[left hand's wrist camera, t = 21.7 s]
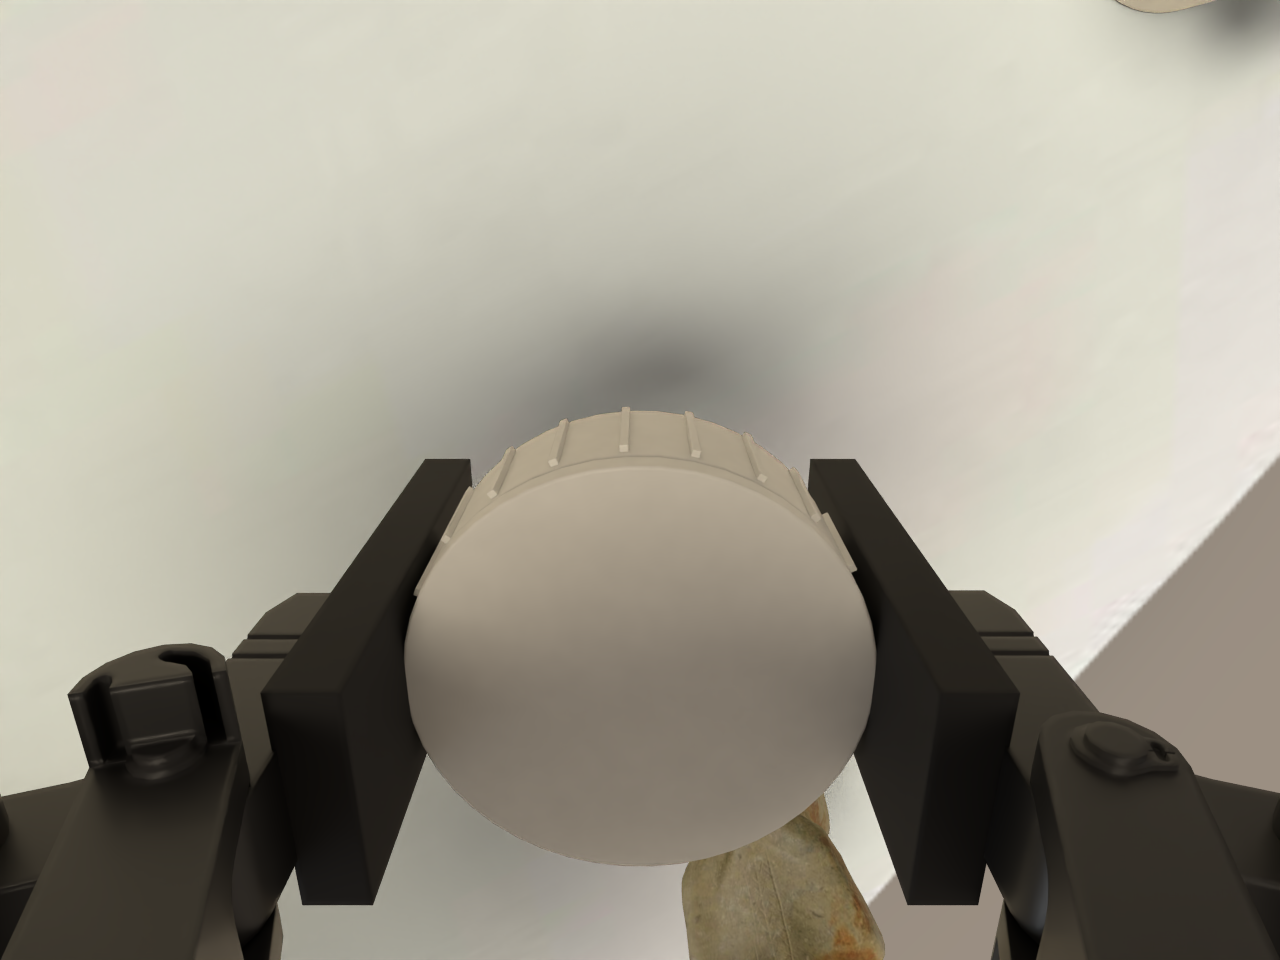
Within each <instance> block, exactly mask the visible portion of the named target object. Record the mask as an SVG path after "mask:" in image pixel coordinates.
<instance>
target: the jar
mask: <svg viewBox="0 0 1280 960" xmlns="http://www.w3.org/2000/svg"><path fill="white" fill-rule="evenodd" d="M1117 1H1118V2H1120V3H1121V4H1123V5H1126V6H1128V7H1130V8H1132V9H1136V10H1140V11H1143V12H1152V13H1165V12H1173V11H1178V10H1183V9H1186V8H1190V7H1194V6H1197V5H1201V4H1205V3H1208V2H1212V1H1216V0H1117Z"/></svg>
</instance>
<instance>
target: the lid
mask: <svg viewBox="0 0 1280 960" xmlns="http://www.w3.org/2000/svg"><path fill="white" fill-rule="evenodd" d="M856 570H857V568H856V566H855V564H854V562H853V560H852V558H851V556H850V554H849V552H848V551H847V549H846V547H845V545H844V543H843V541H842V539H841V537H840V535H839V533H838V531H837V529H836V528H835V526H834V524H833V522H832V520H831V518H830V516H829V514H828V513H825V514H821V513H820V511H819V509H818V507H817V505H816V503H815V501H814V500H813V499H812V497H811V496H810V494H809V492H808V490H807V488H806V486H805V484H804V482H803V480H802V478H801V476H800V474H799V472H798V471H797V470H796V469H795V468H794V467H793V468H792V469H790V470H789V469H788V468H787V467H786V466H785V465H784V464H783V463H782V462H780V461H779V460H778V459H776V458H775V457H774V456H773V455H771V454H770V453H769V452H767V451H766V450H765V449H764V448H762V447H761V446H759V445H758V444H756V443H754V441H753V438H752V436H751V435H750V434H748V433H746V432H744V434H743V435H740V434H739V433H737V432H734V431H732V430H729V429H727V428H725V427H722V426H720V425H717V424H715V423H713V422H709V421H705V420H702V419H698V418H694V414H693V412H688V411H686V412H685V415H682V414H674V413H667V412H660V411H630V407H622V411H621V412H613V413H604V414H598V415H594V416H590V417H586V418H582V419H578V420H574V421H571V422H568V419H564V420H561V421H560V422H559V426H558V427H556V428H553V429H550V430H548V431H546V432H544V433H542V434H540V435H539V436H537V437H535V438H533V439H531V440H529V441H528V442H526V443H524V444H522V445H521V446H520V447H518V448H517V449H516V450H515V449H514V448H513V446H511V447H510V448H508V449H507V450H506V452H505V454H504V456H503V458H502V460H501V461H500V462H499V463H498V464H497V465H496V466H495V467H494V468H493V469H492V470H491V471H490V472H489V473H488V474H487V475H486V476H485V477H484V478H483V479H482V480H481V482H480V483H479V484H478V485H477V487H476V488H475V489H473V488H472V487H470V486H469V487H468V489H467V490H466V492H465V494H464V496H463V497H462V499H461V501H460V503H459V505H458V507H457V509H456V511H455V513H454V515H453V517H452V519H451V521H450V522H449V524H448V526H447V528H446V530H445V532H444V534H443V536H442V538H441V540H440V542H439V544H438V546H437V548H436V550H435V552H434V554H433V555H432V557H431V559H430V561H429V563H428V565H427V567H426V569H425V571H424V573H423V575H422V577H421V579H420V580H419V582H418V584H417V586H416V588H415V591H414V596H417V599H416V602H415V605H414V607H413V610H412V613H411V615H410V619H409V623H408V628H407V633H406V638H405V643H404V663H405V673H406V681H407V690H408V698H409V705H410V712H411V717H412V721H413V724H414V726H415V729H416V731H417V733H418V736H419V738H420V740H421V743H422V745H423V747H424V749H425V750H426V752H427V754H428V755H429V757H430V759H431V760H432V762H433V763H434V765H435V767H436V768H437V770H438V771H439V772H440V773H441V775H442V776H443V777H444V778H445V780H446V781H447V782H448V783H449V785H450V786H451V787H452V788H453V789H454V790H455V791H456V792H457V793H458V794H459V795H460V796H461V797H462V798H463V799H464V800H465V801H466V802H467V803H468V804H469V805H470V806H471V807H472V808H474V809H475V810H476V811H478V812H479V813H480V814H482V815H483V816H484V817H486V818H487V819H488V820H490V821H491V822H492V823H494V824H495V825H497V826H499V827H500V828H502V829H504V830H506V831H507V832H509V833H511V834H512V835H514V836H516V837H518V838H520V839H522V840H524V841H527V842H529V843H531V844H533V845H536V846H538V847H540V848H542V849H545V850H548V851H552V852H555V853H558V854H561V855H564V856H567V857H571V858H575V859H580V860H585V861H589V862H594V863H602V864H611V865H620V866H659V865H670V864H680V863H685V862H690V861H696V860H701V859H706V858H709V857H713V856H716V855H719V854H723V853H726V852H729V851H733V850H735V849H738V848H740V847H742V846H745V845H747V844H749V843H752V842H754V841H757V840H759V839H761V838H762V837H764V836H766V835H768V834H770V833H771V832H773V831H775V830H777V829H779V828H780V827H782V826H784V825H785V824H786V823H788V822H789V821H791V820H792V819H793V818H795V817H796V816H798V815H799V814H800V813H802V812H803V811H804V810H805V809H807V808H808V807H809V806H810V805H811V804H812V803H813V802H814V801H815V800H816V799H818V798H819V797H820V796H821V795H822V794H823V793H824V792H825V791H826V789H827V788H828V787H829V786H830V785H831V784H832V782H833V781H834V780H835V779H836V778H837V777H838V775H839V774H840V773H841V772H842V770H843V768H844V767H845V765H846V764H847V762H848V761H849V759H850V758H851V756H852V754H853V753H854V751H855V749H856V747H857V745H858V743H859V741H860V739H861V736H862V734H863V732H864V730H865V728H866V725H867V721H868V718H869V714H870V709H871V702H872V694H873V686H874V678H875V668H876V654H877V649H876V643H875V637H874V632H873V626H872V621H871V618H870V616H869V613H868V610H867V607H866V604H865V601H864V598H863V596H862V594H861V592H860V590H859V588H858V586H857V584H856V582H855V580H854V578H853V576H852V574H851V573H852V572H854V571H856Z"/></svg>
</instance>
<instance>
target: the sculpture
mask: <svg viewBox="0 0 1280 960" xmlns="http://www.w3.org/2000/svg"><path fill="white" fill-rule="evenodd" d="M829 829H830V824H829V815H828V809H827V805H826V801H825V797H824V793H823V794H822V795H821V796H820V797H819V798H818V799H816V800H815V801H814V802H813V803H812V804H811V805H810V806H809V807H808V808H807V809H805V810H804V811H803V812H802V813H800V814H799V815H798V816H796V817H795V818H793V819H792V820H791V821H789V822H788V823H786V824H785V825H784V826H782V827H780V828H779V829H777V830H775V831H773V832H771V833H770V834H768V835H766V836H764V837H762V838H761V839H759V840H757V841H754V842H752V843H749V844H747V845H745V846H742V847H740V848H738V849H735V850H733V851H729V852H726V853H723V854H719V855H716V856H713V857H709V858H706V859H701V860H696V861H690V862H689V864H688V866H687V868H686V870H685V873H684V875H683V878H682V903H683V910H684V916H685V922H686V929H687V938H688V948H689V957H690V960H883V958H884V955H885V944H884V940H883V937H882V934H881V932H880V930H879V928H878V926H877V924H876V922H875V920H874V918H873V916H872V914H871V912H870V910H869V908H868V906H867V904H866V902H865V900H864V898H863V896H862V895H861V893H860V891H859V889H858V888H857V886H856V884H855V883H854V881H853V879H852V877H851V875H850V873H849V871H848V869H847V867H846V865H845V863H844V861H843V859H842V857H841V855H840V853H839V852H838V850H837V849H836V847H835V846H834V844H833V843H832V841H831V840H830V838H829V837H828V834H829Z"/></svg>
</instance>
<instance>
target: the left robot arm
mask: <svg viewBox="0 0 1280 960" xmlns="http://www.w3.org/2000/svg"><path fill="white" fill-rule="evenodd" d="M469 486H470V487H472V476H471V464H470V459H425V460H424V462H423V463H422V465H421V466H420V467H419V469H418V470H417V472H416V473H415V475H414V476H413V477H412V479H411V480H410V482H409V483H408V484H407V486H406V487H405V489H404V490H403V492H402V493H401V494H400V496H399V497H398V499H397V500H396V501H395V503H394V504H393V506H392V507H391V509H390V510H389V511H388V513H387V514H386V516H385V517H384V518H383V520H382V521H381V523H380V524H379V525H378V527H377V528H376V530H375V531H374V533H373V534H372V535H371V537H370V538H369V540H368V541H367V542H366V544H365V545H364V547H363V548H362V550H361V551H360V552H359V554H358V555H357V557H356V558H355V559H354V561H353V562H352V564H351V565H350V567H349V568H348V569H347V571H346V572H345V574H344V575H343V576H342V578H341V579H340V581H339V582H338V584H337V585H336V586H335V588H334V589H333V591H332V592H331V593H296V594H295V595H293V596H292V597H290V598H288V599H287V600H285V601H284V602H282V603H280V604H279V605H277V606H276V607H274V608H272V609H271V610H269V611H268V612H266V613H265V614H264V616H263V617H262V618H261V619H260V620H259V622H258V623H257V624H256V625H255V627H254V628H253V629H252V630H251V631H250V633H249V634H248V638H247V639H244V640H243V641H242V642H241V644H240V645H239V646H238V647H237V649H236V650H235V651H234V652H233V653H232V659H228V660H227V661H226V662H225V657H224V656H223V655H221V654H220V653H219V652H217V651H216V650H215V649H213V648H212V647H207V646H202V645H197V644H192V643H189V644H170V645H161V646H157V647H152V648H148V649H144V650H139V651H135V652H132V653H130V654H127V655H125V656H122V657H120V658H117V659H115V660H112V661H110V662H107V663H105V664H104V665H102V666H101V667H99V668H97V669H96V670H94V671H93V672H91V673H89V674H88V675H86V676H85V677H83V678H82V679H81V680H80V681H79V682H78V683H77V684H76V686H75V687H74V688H73V689H72V690H71V691H70V692H69V693H68V694H67V695H68V698H69V701H70V705H71V708H72V711H73V715H74V718H75V721H76V725H77V728H78V731H79V735H80V738H81V741H82V745H83V748H84V751H85V754H86V758H87V761H88V764H89V770H88V772H87V774H86V776H85V778H84V779H81V780H78V781H74V782H70V783H65V784H61V785H56V786H51V787H46V788H41V789H36V790H32V791H27V792H22V793H17V794H12V795H8V796H3V797H1V794H0V960H281V951H282V942H283V932H282V925H281V919H280V914H279V909H278V905H277V901H278V899H279V897H280V895H281V893H282V891H283V889H284V887H285V885H286V883H287V881H288V879H289V877H290V875H291V873H292V870H293V868H294V866H295V870H296V875H297V880H298V885H299V890H300V895H301V900H302V905H373V903H374V900H375V898H376V895H377V892H378V889H379V886H380V884H381V881H382V878H383V875H384V872H385V870H386V867H387V864H388V861H389V858H390V855H391V853H392V850H393V847H394V844H395V841H396V839H397V836H398V833H399V830H400V827H401V825H402V822H403V819H404V816H405V813H406V811H407V808H408V805H409V802H410V799H411V797H412V794H413V791H414V788H415V785H416V783H417V780H418V777H419V774H420V771H421V768H422V766H423V763H424V760H425V757H426V754H427V752H426V750H425V749H424V747H423V745H422V743H421V740H420V738H419V736H418V733H417V731H416V729H415V726H414V724H413V721H412V717H411V712H410V705H409V698H408V690H407V681H406V673H405V663H404V643H405V638H406V633H407V628H408V623H409V619H410V615H411V613H412V610H413V607H414V605H415V602H416V599H417V596H414V591H415V588H416V586H417V584H418V582H419V580H420V579H421V577H422V575H423V573H424V571H425V569H426V567H427V565H428V563H429V561H430V559H431V557H432V555H433V554H434V552H435V550H436V548H437V546H438V544H439V542H440V540H441V538H442V536H443V534H444V532H445V530H446V528H447V526H448V524H449V522H450V521H451V519H452V517H453V515H454V513H455V511H456V509H457V507H458V505H459V503H460V501H461V499H462V497H463V496H464V494H465V492H466V490H467V489H468V487H469ZM808 492H809V494H810V496H811V497H812V499H813V500H814V501H815V503H816V505H817V507H818V509H819V511H820V513H821V514H825V513H828V514H829V516H830V518H831V520H832V522H833V524H834V526H835V528H836V529H837V531H838V533H839V535H840V537H841V539H842V541H843V543H844V545H845V547H846V549H847V551H848V552H849V554H850V556H851V558H852V560H853V562H854V564H855V566H856V568H857V570H856V571H854V572H852V573H851V574H852V576H853V578H854V580H855V582H856V584H857V586H858V588H859V590H860V592H861V594H862V596H863V598H864V601H865V604H866V607H867V610H868V613H869V616H870V618H871V621H872V626H873V632H874V637H875V643H876V649H877V654H876V668H875V678H874V686H873V694H872V702H871V709H870V714H869V718H868V721H867V725H866V728H865V730H864V732H863V734H862V736H861V739H860V741H859V743H858V745H857V747H856V749H855V751H854V756H855V759H856V761H857V764H858V767H859V770H860V773H861V776H862V778H863V781H864V784H865V787H866V790H867V792H868V795H869V798H870V801H871V804H872V806H873V809H874V812H875V815H876V818H877V820H878V823H879V826H880V829H881V832H882V834H883V837H884V840H885V843H886V846H887V848H888V851H889V854H890V857H891V860H892V862H893V865H894V868H895V871H896V874H897V877H898V879H899V882H900V885H901V888H902V890H903V893H904V896H905V899H906V902H907V905H978V903H979V898H980V893H981V888H982V883H983V878H984V873H985V868H986V863H987V865H988V867H989V869H990V871H991V873H992V875H993V877H994V880H995V881H996V884H997V886H998V888H999V890H1000V892H1001V894H1002V896H1003V898H1004V900H1003V905H1002V910H1001V914H1000V919H999V924H998V928H997V933H996V938H995V942H994V947H993V952H992V956H991V960H1280V793H1276V792H1271V791H1266V790H1262V789H1257V788H1252V787H1247V786H1242V785H1237V784H1233V783H1228V782H1223V781H1218V780H1213V779H1209V778H1205V777H1202V776H1198V775H1194V772H1193V770H1192V768H1191V766H1190V765H1189V764H1188V762H1187V761H1186V760H1185V758H1184V757H1183V756H1182V754H1181V753H1180V752H1179V750H1178V749H1177V748H1176V747H1174V746H1173V745H1172V744H1170V743H1169V742H1167V741H1166V740H1165V739H1163V738H1162V737H1161V736H1159V735H1158V734H1157V733H1155V732H1153V731H1151V730H1149V729H1147V728H1145V727H1142V726H1140V725H1138V724H1136V723H1134V722H1132V721H1129V720H1127V719H1123V718H1119V717H1116V716H1112V715H1108V714H1104V713H1100V712H1099V711H1098V710H1097V709H1096V707H1095V706H1094V705H1093V704H1092V703H1091V701H1090V700H1089V699H1088V698H1087V697H1086V695H1085V694H1084V693H1083V692H1082V690H1081V689H1080V688H1079V687H1078V686H1077V684H1076V683H1075V682H1074V681H1073V679H1072V678H1071V677H1070V676H1069V675H1068V673H1067V672H1066V671H1065V670H1064V669H1063V667H1062V666H1061V665H1060V664H1059V662H1058V661H1057V660H1056V659H1055V658H1054V656H1049V650H1048V649H1047V648H1046V647H1045V645H1044V644H1043V643H1042V642H1041V641H1040V639H1039V638H1038V637H1034V635H1033V633H1034V632H1033V631H1032V630H1031V629H1030V627H1029V626H1028V625H1027V624H1026V622H1025V621H1024V620H1023V619H1022V618H1021V616H1020V615H1019V614H1018V613H1017V612H1016V610H1015V609H1013V608H1011V607H1010V606H1008V605H1007V604H1005V603H1003V602H1002V601H1000V600H999V599H997V598H995V597H994V596H992V595H990V594H989V593H987V592H986V591H948V590H947V588H946V587H945V586H944V584H943V583H942V581H941V580H940V578H939V577H938V576H937V574H936V573H935V571H934V570H933V569H932V567H931V566H930V564H929V563H928V562H927V560H926V559H925V557H924V556H923V554H922V553H921V552H920V550H919V549H918V547H917V546H916V545H915V543H914V542H913V540H912V539H911V537H910V536H909V535H908V533H907V532H906V530H905V529H904V528H903V526H902V525H901V523H900V522H899V520H898V519H897V518H896V516H895V515H894V513H893V512H892V511H891V509H890V508H889V506H888V505H887V504H886V502H885V501H884V499H883V498H882V496H881V495H880V494H879V492H878V491H877V489H876V488H875V487H874V485H873V484H872V482H871V481H870V479H869V478H868V477H867V475H866V474H865V472H864V471H863V470H862V468H861V467H860V465H859V464H858V462H857V461H856V460H855V459H810V470H809V483H808Z"/></svg>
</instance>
